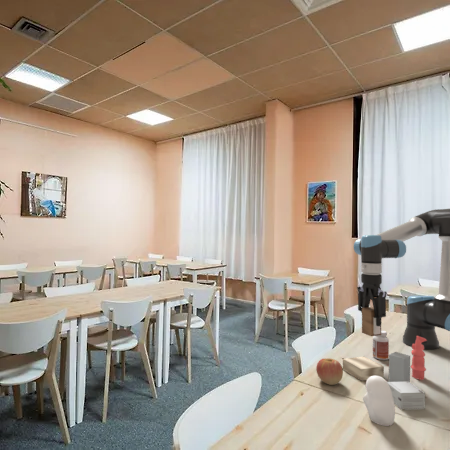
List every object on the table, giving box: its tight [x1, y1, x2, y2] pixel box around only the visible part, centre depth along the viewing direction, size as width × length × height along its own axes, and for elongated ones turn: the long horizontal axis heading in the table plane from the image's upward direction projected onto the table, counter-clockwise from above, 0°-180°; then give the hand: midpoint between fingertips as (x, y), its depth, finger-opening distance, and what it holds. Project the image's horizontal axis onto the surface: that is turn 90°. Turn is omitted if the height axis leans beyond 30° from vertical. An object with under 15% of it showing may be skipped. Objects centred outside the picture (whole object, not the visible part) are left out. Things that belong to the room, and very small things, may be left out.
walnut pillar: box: [361, 306, 382, 337], centre depth 134 cm, size 5×5×10 cm
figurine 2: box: [410, 336, 427, 381], centre depth 123 cm, size 5×5×15 cm
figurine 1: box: [362, 376, 396, 427], centre depth 93 cm, size 7×8×12 cm
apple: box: [316, 358, 344, 386], centre depth 116 cm, size 9×9×8 cm
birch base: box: [342, 355, 385, 381], centre depth 125 cm, size 10×10×4 cm
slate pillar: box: [388, 351, 411, 383], centre depth 116 cm, size 5×5×10 cm
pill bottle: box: [372, 329, 390, 361], centre depth 141 cm, size 6×6×11 cm
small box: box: [387, 381, 426, 410], centre depth 103 cm, size 8×8×5 cm
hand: (371, 331), depth 134 cm, fingers closed on walnut pillar, 5 cm apart
